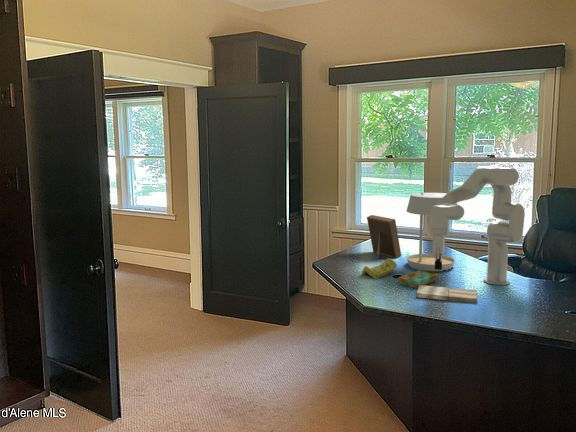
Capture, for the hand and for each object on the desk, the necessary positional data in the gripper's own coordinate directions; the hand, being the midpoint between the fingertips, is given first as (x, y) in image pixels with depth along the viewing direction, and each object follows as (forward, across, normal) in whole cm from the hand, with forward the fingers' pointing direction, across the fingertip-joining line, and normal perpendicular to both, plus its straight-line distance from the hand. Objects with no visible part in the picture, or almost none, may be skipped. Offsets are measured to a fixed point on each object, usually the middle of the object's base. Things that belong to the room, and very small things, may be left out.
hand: (438, 269), depth 250 cm
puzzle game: (+13, -19, -11) cm, 26 cm away
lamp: (+13, -57, -7) cm, 59 cm away
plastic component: (+13, -31, -32) cm, 46 cm away
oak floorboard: (+13, 0, +12) cm, 17 cm away
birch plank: (+13, 0, -2) cm, 13 cm away
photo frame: (+13, -75, -39) cm, 86 cm away
